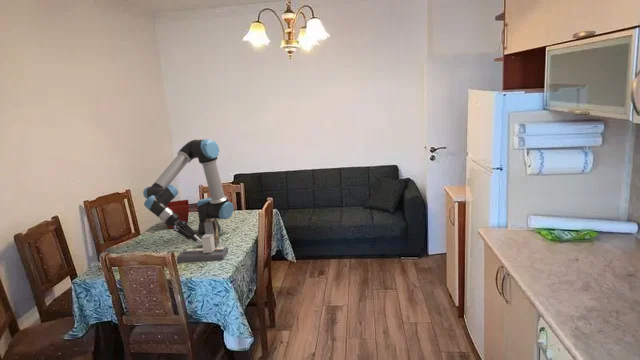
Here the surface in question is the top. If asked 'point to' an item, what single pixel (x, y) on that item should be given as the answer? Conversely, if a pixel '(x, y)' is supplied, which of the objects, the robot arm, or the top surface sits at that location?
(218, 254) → the switch deck
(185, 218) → the plant pot
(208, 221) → the coffee box
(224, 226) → the top surface
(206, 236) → the switch tab
